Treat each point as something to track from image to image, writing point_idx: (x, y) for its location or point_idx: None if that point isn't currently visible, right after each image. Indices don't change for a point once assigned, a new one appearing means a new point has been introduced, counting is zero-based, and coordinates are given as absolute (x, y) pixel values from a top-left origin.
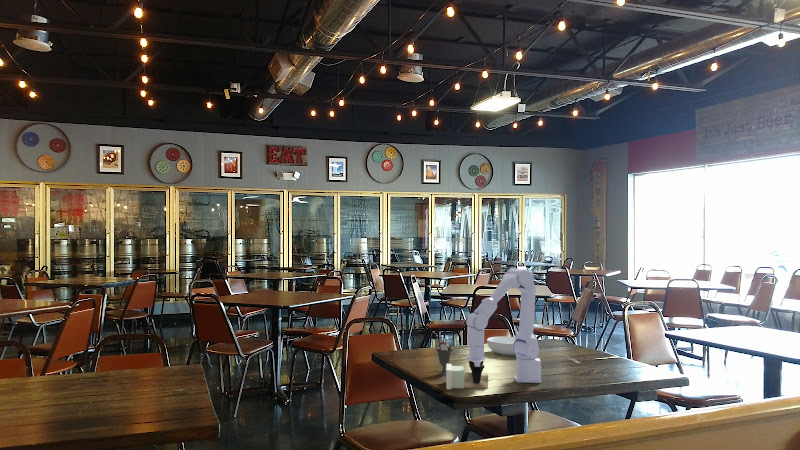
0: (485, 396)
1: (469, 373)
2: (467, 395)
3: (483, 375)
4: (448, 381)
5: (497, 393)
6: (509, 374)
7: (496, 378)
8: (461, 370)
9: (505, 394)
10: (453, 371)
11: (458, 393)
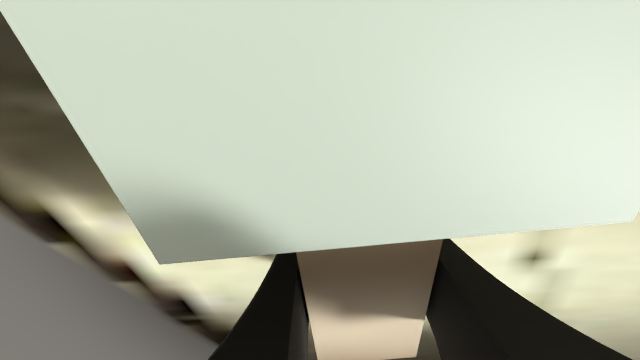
0: (93, 269)
1: (385, 245)
2: (21, 165)
3: (315, 343)
4: None
5: (205, 311)
6: (631, 332)
7: (563, 294)
8: (193, 220)
9: (203, 335)
10: (14, 2)
11: (23, 77)
